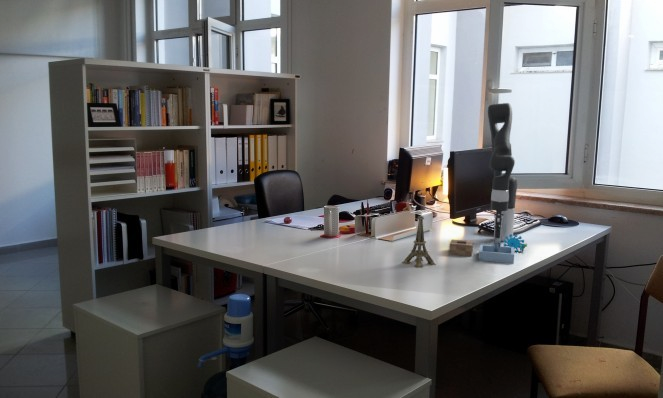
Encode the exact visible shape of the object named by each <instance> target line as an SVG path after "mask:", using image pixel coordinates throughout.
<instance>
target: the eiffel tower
mask: <svg viewBox="0 0 663 398" xmlns="http://www.w3.org/2000/svg"><path fill="white" fill-rule="evenodd" d="M417 220H418V224H417V228H416V235H415V240H413V243H414V245H413V247H412V250H410V253H409V254H408V255H407V256H406V258H405V259H404V260H403V261H402V262H401V263H402V264H405V265H407V264H412V263H411V260H412V259H413V258H414V257H416V258H415V259H414V261H416V262H415V265H414V268H418V269H420V268H424V265H423V263H422V262H424V260H423V258H425V260H426V262H427V263H426V264H427V265H428V266H436V265H437V263H435V262H434V260H433V258H432V257H431V255H430V254H429V251H428V250H427V248H426V244H427V241H425V235H424V233H425V232H424V221H423V220H425V218H424V216H422V214H420V215H418V216H417ZM422 257H423V258H422Z"/></svg>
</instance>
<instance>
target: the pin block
mask: <svg viewBox="0 0 663 398" xmlns="http://www.w3.org/2000/svg"><path fill="white" fill-rule="evenodd" d="M473 250H474V241H473V240H463V239H462V240H461V239H451V241H450V243H449V253H448V255H453V256H465V257H472V255H473V252H474V251H473Z"/></svg>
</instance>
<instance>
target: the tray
mask: <svg viewBox="0 0 663 398" xmlns="http://www.w3.org/2000/svg"><path fill="white" fill-rule="evenodd" d="M478 261H484V262H492V263H493V262H495V263H496V262H497V263H506V264H514V262H515V249H514V247H509V246H504V245H503V246H502V245H500V252H494V251H493V245H489V244H480V245H479V251H478Z"/></svg>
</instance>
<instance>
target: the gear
mask: <svg viewBox="0 0 663 398" xmlns="http://www.w3.org/2000/svg"><path fill="white" fill-rule="evenodd" d="M511 237H512V234H510V239H508V236H506V237H505V238H506V239H507V240H508V241H506V240H505V239H504V240H503V241H502V242H503V246H505V247H514V253H515V252H516V253H519V251H524V249H525V248H527V247H528V243H525V239H523V237H522V236H521V235H519V236H518V234H517V233H516V234H514V235H513V238H511Z"/></svg>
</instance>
